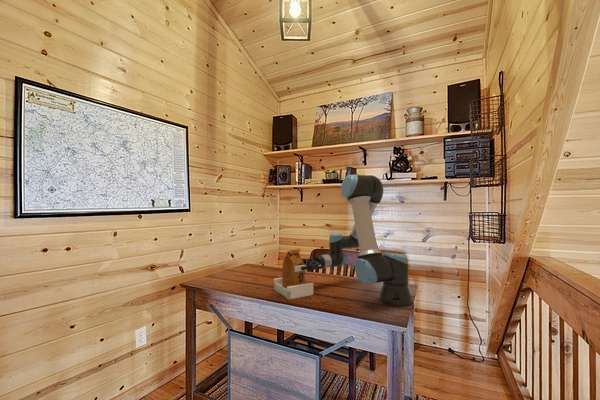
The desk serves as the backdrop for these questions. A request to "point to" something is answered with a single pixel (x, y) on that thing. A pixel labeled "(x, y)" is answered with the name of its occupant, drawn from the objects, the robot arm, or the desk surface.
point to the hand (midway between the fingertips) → (288, 266)
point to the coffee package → (292, 269)
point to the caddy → (293, 289)
